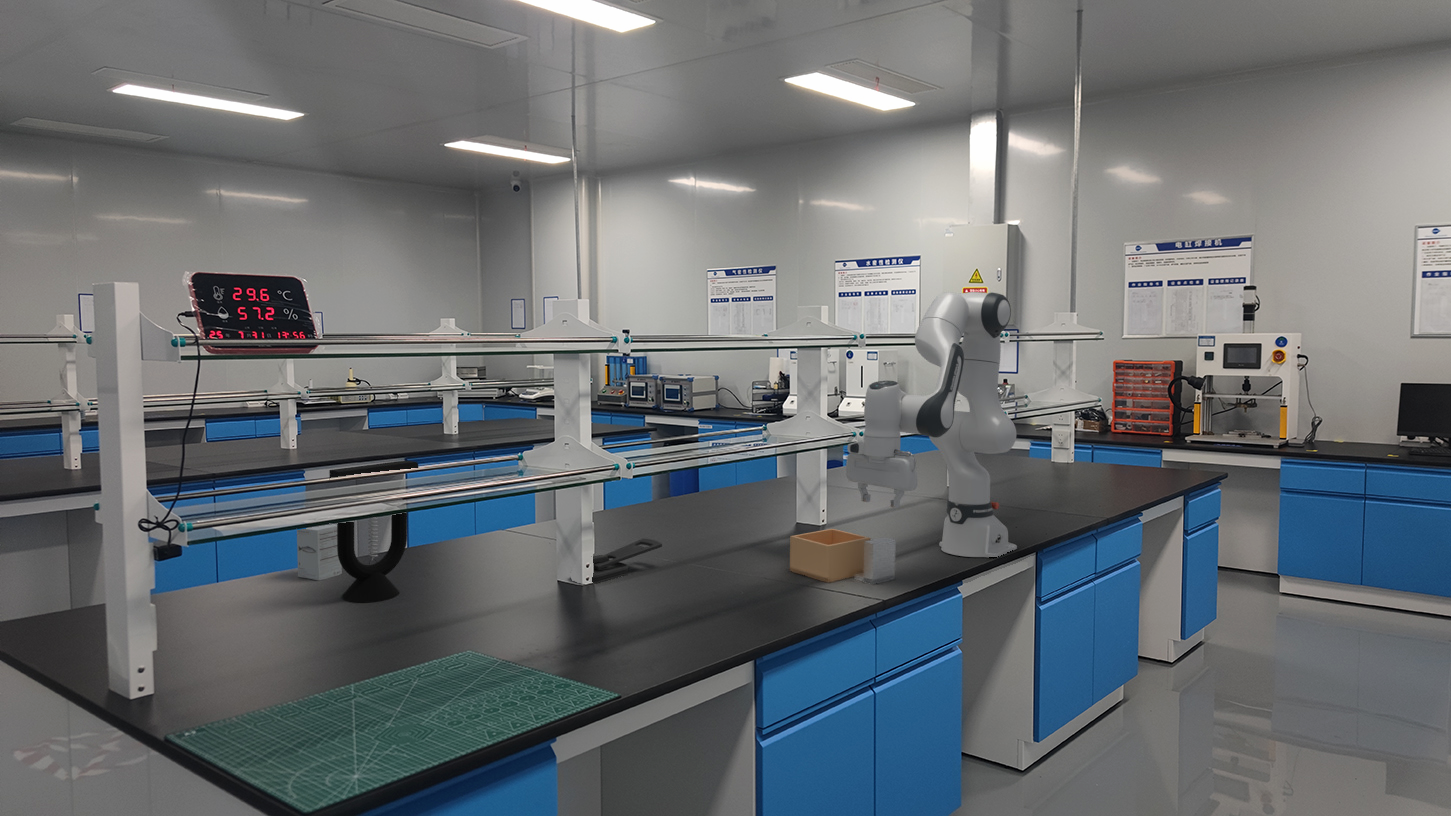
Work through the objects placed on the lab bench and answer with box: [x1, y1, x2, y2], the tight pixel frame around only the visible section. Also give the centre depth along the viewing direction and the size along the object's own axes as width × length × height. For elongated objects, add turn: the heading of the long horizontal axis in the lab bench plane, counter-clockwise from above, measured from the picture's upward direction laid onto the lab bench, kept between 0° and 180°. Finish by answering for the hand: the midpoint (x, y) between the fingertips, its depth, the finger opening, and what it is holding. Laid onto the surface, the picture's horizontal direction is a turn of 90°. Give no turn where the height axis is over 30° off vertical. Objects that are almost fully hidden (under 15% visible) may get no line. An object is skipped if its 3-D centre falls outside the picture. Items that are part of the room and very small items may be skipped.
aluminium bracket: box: [853, 536, 897, 585], centre depth 221 cm, size 8×6×10 cm
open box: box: [789, 528, 872, 584], centre depth 227 cm, size 15×14×9 cm
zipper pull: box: [592, 538, 663, 585], centre depth 226 cm, size 9×7×25 cm
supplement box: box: [296, 523, 343, 582], centre depth 221 cm, size 7×7×13 cm
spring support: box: [328, 459, 419, 603], centre depth 206 cm, size 21×12×30 cm, turn 147°
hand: (880, 504), depth 219 cm, fingers open, 8 cm apart
